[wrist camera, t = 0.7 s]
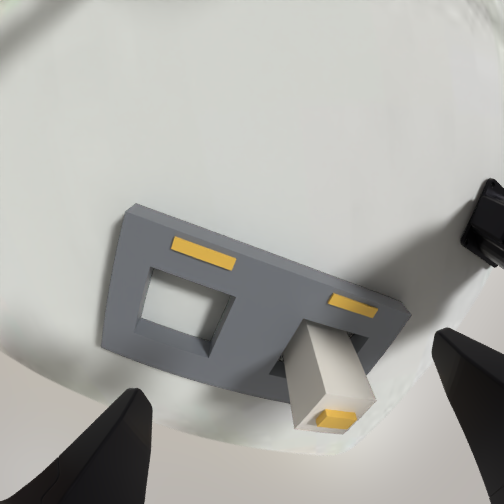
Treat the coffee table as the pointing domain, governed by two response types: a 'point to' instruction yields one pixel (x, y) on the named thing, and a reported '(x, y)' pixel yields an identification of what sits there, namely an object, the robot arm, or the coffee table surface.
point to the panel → (234, 306)
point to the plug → (325, 379)
